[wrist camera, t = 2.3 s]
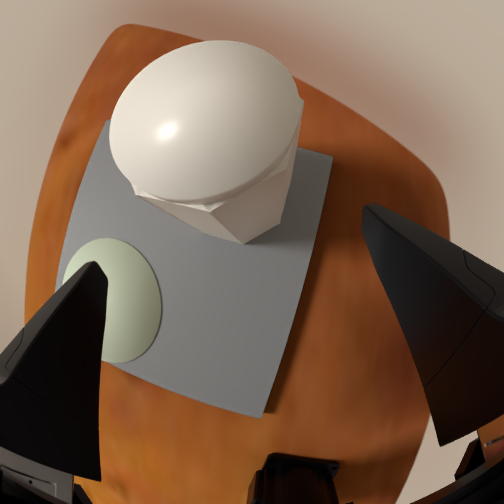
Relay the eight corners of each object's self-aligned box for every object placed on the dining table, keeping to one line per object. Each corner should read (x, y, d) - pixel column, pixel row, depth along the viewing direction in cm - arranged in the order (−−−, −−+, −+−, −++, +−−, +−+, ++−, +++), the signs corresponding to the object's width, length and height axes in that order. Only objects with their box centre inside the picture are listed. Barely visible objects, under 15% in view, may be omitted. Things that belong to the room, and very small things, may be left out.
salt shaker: (296, 160, 19) (315, 52, 8) (272, 252, 19) (271, 223, 8) (206, 141, 20) (153, 40, 9) (178, 227, 19) (82, 180, 8)
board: (330, 161, 20) (333, 155, 19) (261, 412, 19) (260, 419, 18) (111, 124, 22) (106, 119, 20) (57, 328, 21) (49, 329, 19)
